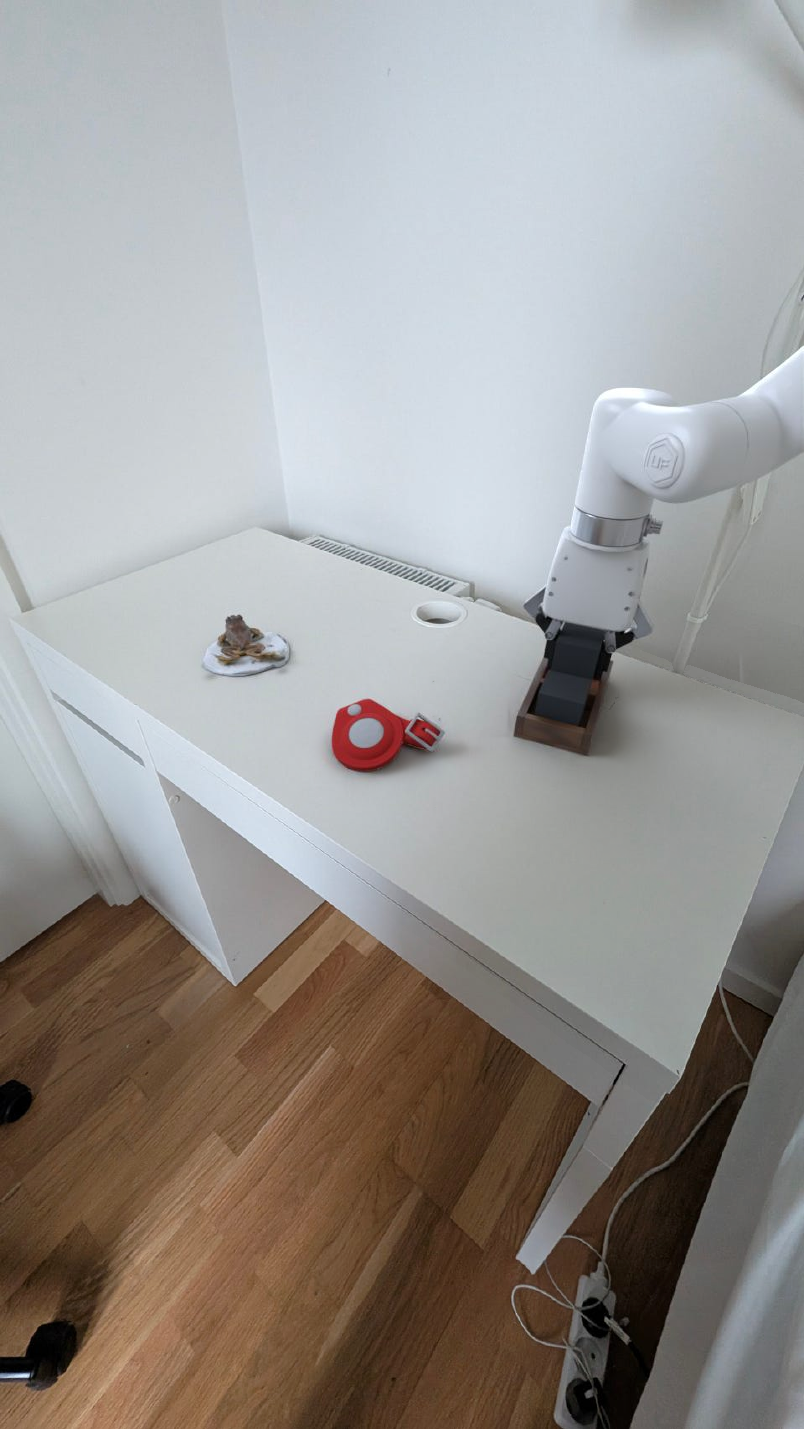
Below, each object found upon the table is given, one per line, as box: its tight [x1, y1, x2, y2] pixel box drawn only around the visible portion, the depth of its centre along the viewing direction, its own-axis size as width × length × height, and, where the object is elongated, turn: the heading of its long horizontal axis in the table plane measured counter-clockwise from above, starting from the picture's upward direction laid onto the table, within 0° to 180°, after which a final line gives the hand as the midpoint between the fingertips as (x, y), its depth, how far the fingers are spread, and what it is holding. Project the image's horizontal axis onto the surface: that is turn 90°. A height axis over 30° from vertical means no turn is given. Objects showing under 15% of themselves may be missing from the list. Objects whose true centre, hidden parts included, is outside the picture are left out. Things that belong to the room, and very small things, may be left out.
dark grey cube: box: [535, 670, 592, 727], centre depth 67 cm, size 5×5×5 cm
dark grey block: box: [551, 621, 604, 684], centre depth 70 cm, size 5×5×5 cm
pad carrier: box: [513, 656, 615, 757], centre depth 70 cm, size 8×16×3 cm, turn 156°
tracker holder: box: [331, 698, 446, 772], centre depth 65 cm, size 12×4×10 cm
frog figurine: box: [201, 614, 291, 677], centre depth 79 cm, size 12×12×4 cm
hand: (574, 667), depth 72 cm, fingers closed on dark grey block, 5 cm apart
